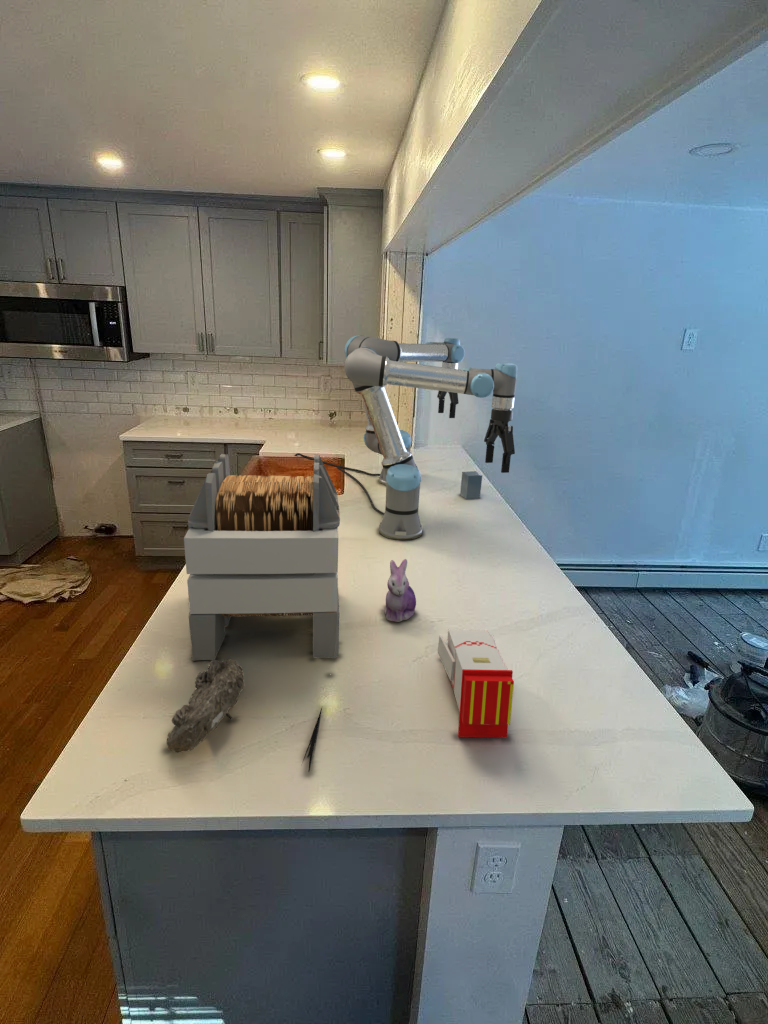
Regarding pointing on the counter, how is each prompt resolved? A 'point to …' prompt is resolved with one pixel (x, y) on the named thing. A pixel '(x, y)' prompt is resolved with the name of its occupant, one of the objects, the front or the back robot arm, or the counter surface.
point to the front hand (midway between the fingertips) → (496, 467)
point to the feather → (313, 740)
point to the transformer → (263, 554)
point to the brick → (471, 485)
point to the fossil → (206, 705)
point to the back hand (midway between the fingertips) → (446, 415)
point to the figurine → (399, 594)
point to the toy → (478, 682)
